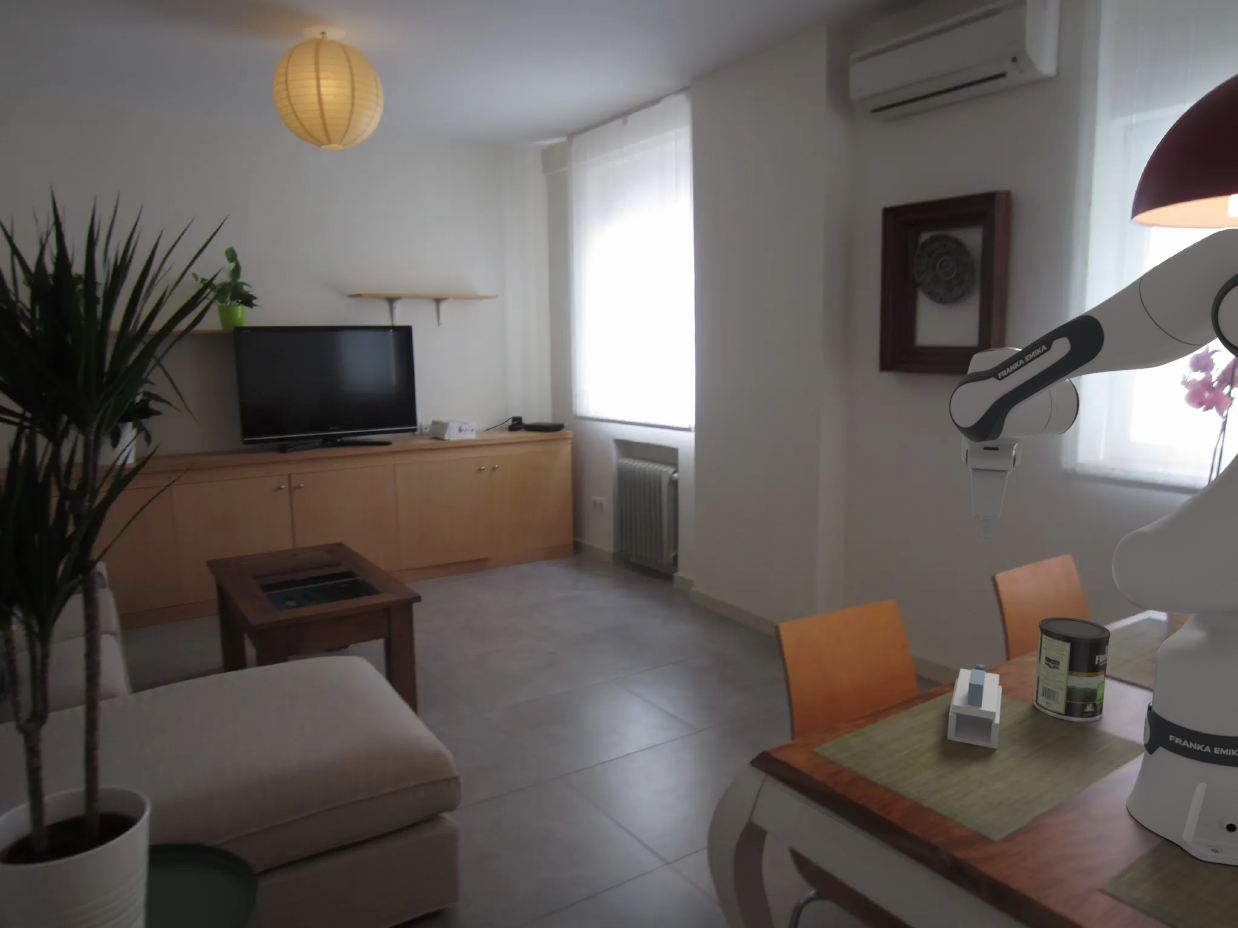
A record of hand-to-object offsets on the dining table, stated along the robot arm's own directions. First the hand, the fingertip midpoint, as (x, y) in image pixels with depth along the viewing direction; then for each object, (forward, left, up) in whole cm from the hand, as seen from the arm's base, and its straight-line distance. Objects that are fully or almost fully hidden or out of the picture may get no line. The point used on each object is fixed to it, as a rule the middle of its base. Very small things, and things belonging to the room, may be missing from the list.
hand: (985, 536), depth 137 cm
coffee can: (-14, -6, -29) cm, 33 cm away
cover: (0, +5, -29) cm, 29 cm away
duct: (-1, +7, -29) cm, 30 cm away
